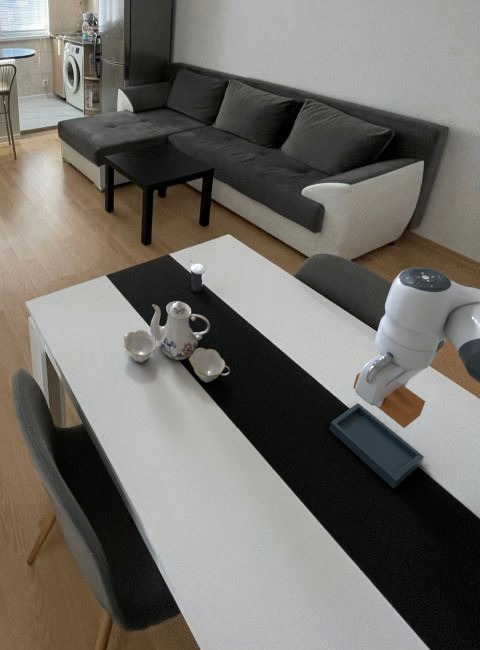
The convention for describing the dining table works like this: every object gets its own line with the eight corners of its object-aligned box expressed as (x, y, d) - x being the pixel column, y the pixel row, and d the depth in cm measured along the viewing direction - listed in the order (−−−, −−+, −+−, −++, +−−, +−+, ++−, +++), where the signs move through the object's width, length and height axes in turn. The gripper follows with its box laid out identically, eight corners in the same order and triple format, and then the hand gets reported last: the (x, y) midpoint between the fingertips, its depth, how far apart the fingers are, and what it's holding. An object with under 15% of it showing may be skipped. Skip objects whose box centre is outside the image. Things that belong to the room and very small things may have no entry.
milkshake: (193, 281, 143) (194, 256, 140) (206, 289, 140) (208, 264, 136) (184, 287, 141) (186, 262, 137) (198, 295, 137) (200, 270, 133)
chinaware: (118, 372, 114) (115, 330, 106) (130, 322, 128) (128, 281, 120) (228, 397, 106) (234, 353, 98) (228, 341, 119) (233, 298, 112)
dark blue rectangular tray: (421, 464, 88) (424, 456, 87) (393, 489, 84) (396, 481, 83) (355, 410, 99) (357, 402, 98) (328, 429, 96) (330, 422, 95)
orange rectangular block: (420, 415, 84) (426, 398, 83) (404, 428, 82) (410, 411, 80) (368, 377, 93) (373, 360, 91) (352, 387, 90) (357, 371, 89)
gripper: (389, 380, 75) (372, 433, 80) (451, 335, 83) (432, 386, 88) (353, 354, 80) (340, 405, 85) (415, 314, 88) (400, 363, 93)
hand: (387, 395), depth 87 cm, fingers closed on orange rectangular block, 5 cm apart
